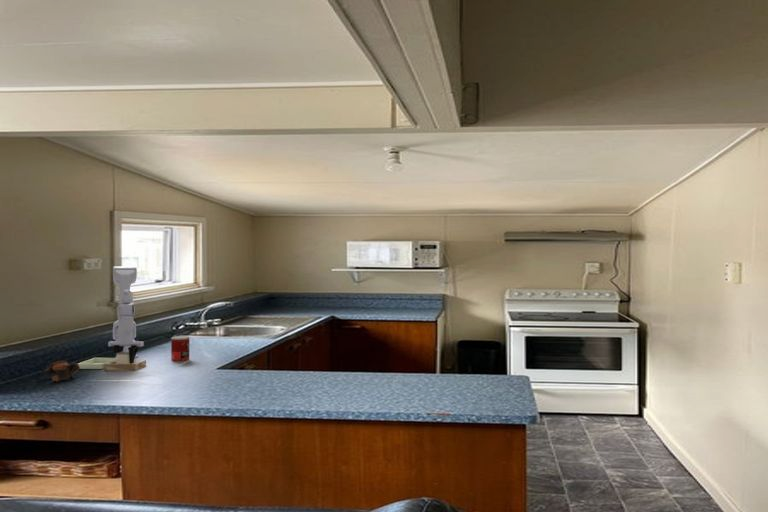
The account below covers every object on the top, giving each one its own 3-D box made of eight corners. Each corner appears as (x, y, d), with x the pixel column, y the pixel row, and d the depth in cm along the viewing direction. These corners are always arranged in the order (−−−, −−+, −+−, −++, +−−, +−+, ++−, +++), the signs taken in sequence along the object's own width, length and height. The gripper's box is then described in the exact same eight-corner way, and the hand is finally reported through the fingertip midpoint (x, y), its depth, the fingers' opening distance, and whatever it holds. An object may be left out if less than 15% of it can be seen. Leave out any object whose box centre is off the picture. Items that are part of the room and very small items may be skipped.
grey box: (125, 363, 225) (125, 349, 225) (136, 363, 225) (136, 349, 225) (116, 367, 217) (116, 353, 217) (126, 367, 217) (126, 353, 217)
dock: (116, 366, 226) (116, 359, 226) (146, 366, 225) (146, 360, 225) (104, 371, 216) (104, 364, 216) (134, 371, 216) (134, 364, 216)
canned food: (183, 362, 234) (183, 338, 234) (167, 362, 235) (167, 338, 235) (192, 359, 242) (192, 336, 242) (177, 358, 243) (177, 335, 243)
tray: (94, 363, 232) (94, 357, 232) (118, 363, 232) (118, 358, 232) (76, 369, 219) (76, 363, 219) (102, 370, 219) (102, 364, 219)
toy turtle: (43, 384, 196) (40, 364, 199) (51, 390, 204) (47, 370, 207) (78, 374, 201) (74, 354, 203) (85, 379, 209) (81, 360, 212)
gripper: (104, 332, 217) (104, 364, 217) (137, 333, 217) (137, 365, 217) (113, 330, 224) (113, 361, 224) (146, 330, 224) (146, 361, 224)
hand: (126, 363), depth 221 cm, fingers closed on grey box, 4 cm apart
